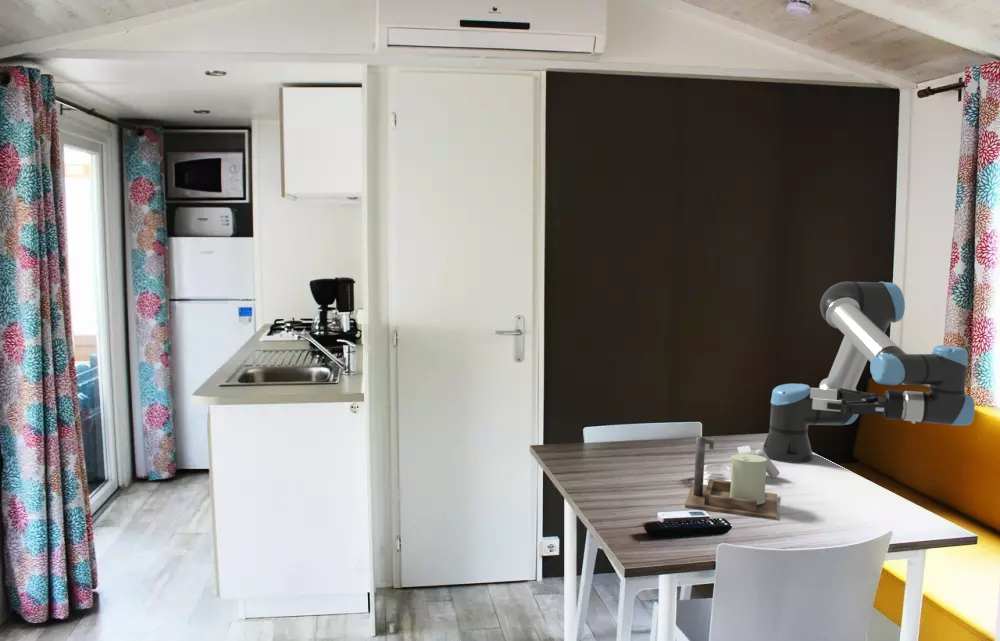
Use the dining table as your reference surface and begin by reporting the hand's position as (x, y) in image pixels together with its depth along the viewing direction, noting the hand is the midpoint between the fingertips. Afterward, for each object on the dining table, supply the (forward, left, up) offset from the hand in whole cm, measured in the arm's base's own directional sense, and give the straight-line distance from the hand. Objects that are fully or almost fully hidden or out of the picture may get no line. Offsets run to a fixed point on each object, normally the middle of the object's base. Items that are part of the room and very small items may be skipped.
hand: (811, 398), depth 202 cm
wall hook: (-12, -23, -30) cm, 40 cm away
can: (+10, -11, -29) cm, 33 cm away
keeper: (+12, -13, -30) cm, 35 cm away
